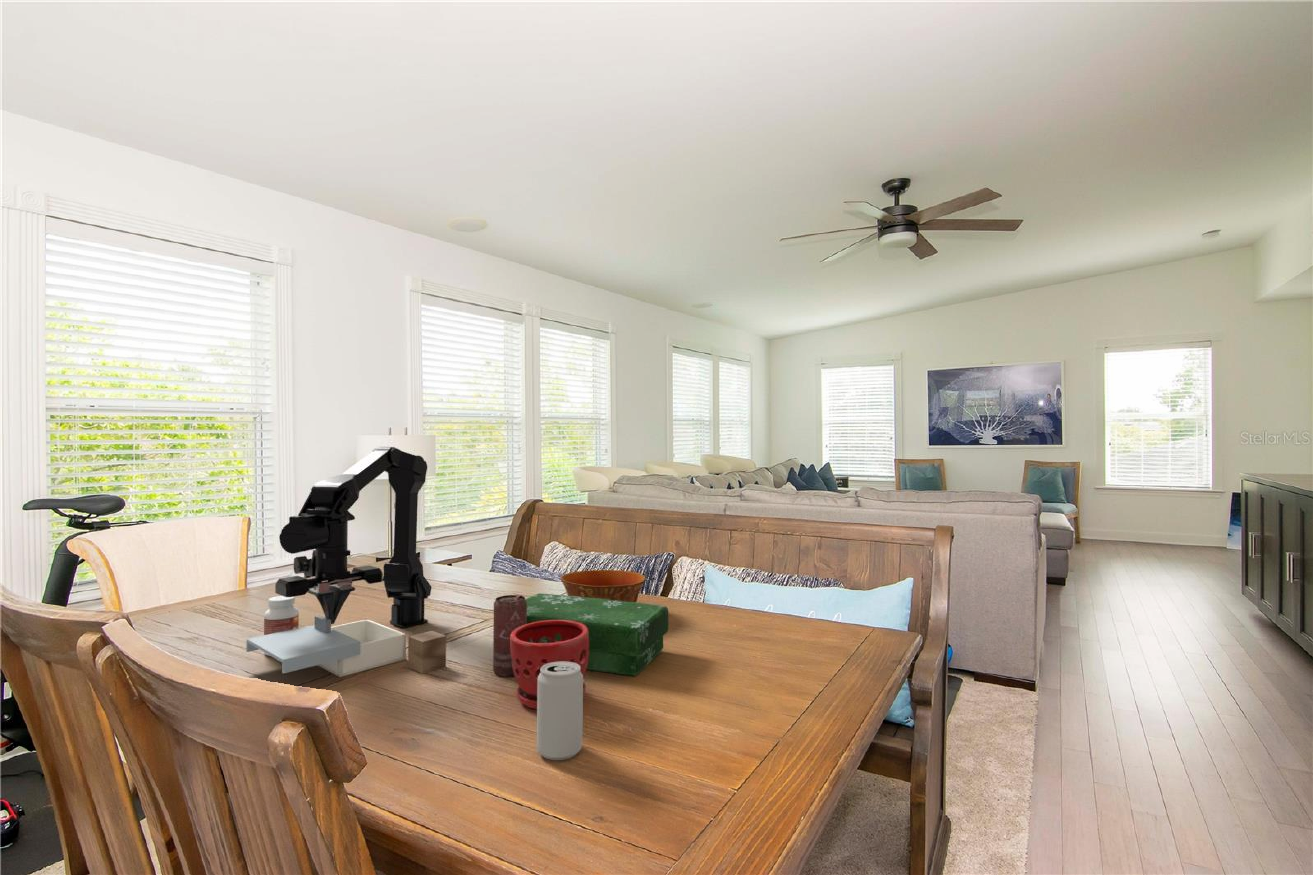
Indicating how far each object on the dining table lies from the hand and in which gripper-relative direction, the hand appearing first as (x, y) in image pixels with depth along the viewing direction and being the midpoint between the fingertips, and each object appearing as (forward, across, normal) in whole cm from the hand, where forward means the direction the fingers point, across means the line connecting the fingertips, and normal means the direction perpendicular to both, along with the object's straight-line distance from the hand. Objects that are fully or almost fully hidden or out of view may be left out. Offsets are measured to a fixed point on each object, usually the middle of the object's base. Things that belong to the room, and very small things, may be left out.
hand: (330, 623), depth 131 cm
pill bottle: (+7, +5, -12) cm, 14 cm away
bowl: (+7, -58, +18) cm, 61 cm away
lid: (+3, +7, +3) cm, 8 cm away
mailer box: (+7, -3, +3) cm, 8 cm away
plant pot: (+7, -15, +48) cm, 51 cm away
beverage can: (+7, -4, +63) cm, 64 cm away
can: (+7, -19, +32) cm, 38 cm away
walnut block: (+7, -10, +18) cm, 22 cm away
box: (+8, -35, +36) cm, 50 cm away
